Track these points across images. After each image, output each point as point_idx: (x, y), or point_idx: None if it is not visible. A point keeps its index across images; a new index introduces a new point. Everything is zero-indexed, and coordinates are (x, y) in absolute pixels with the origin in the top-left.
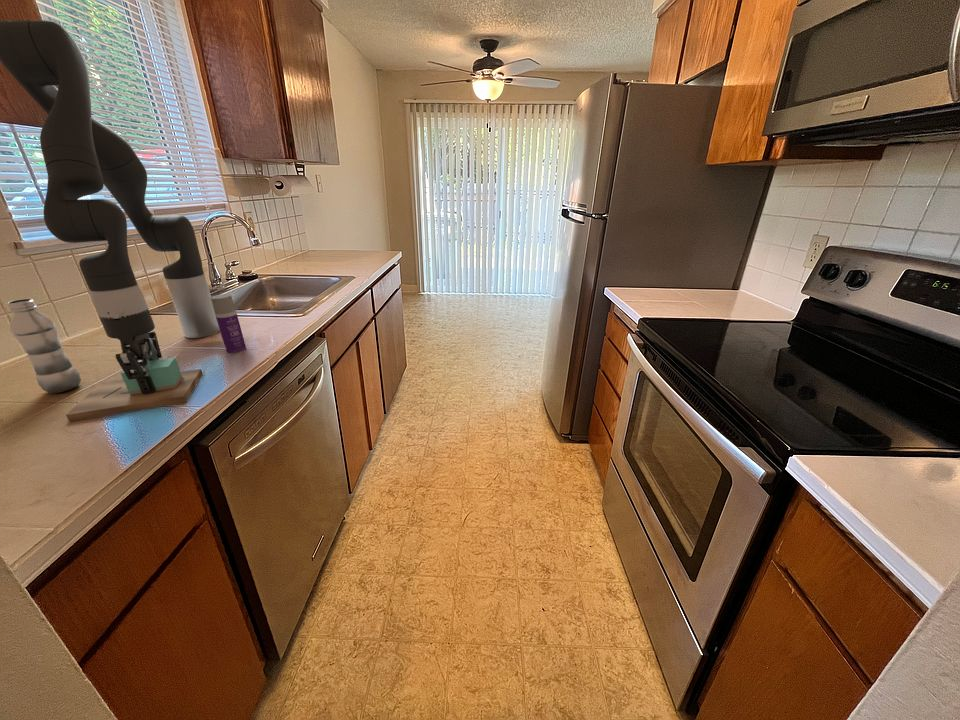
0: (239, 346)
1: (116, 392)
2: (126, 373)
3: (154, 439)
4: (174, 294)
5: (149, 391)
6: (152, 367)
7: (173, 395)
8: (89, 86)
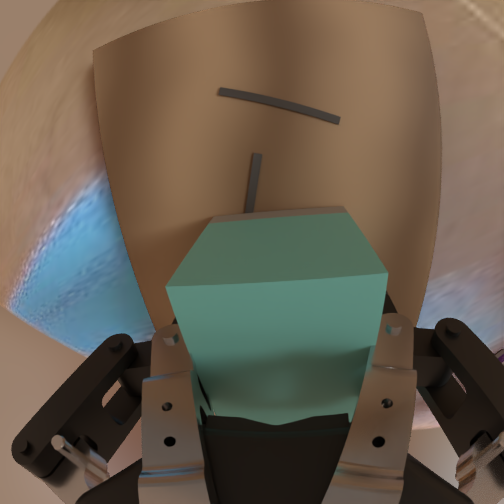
0: None
1: (275, 123)
2: (84, 369)
3: (52, 331)
4: None
5: None
6: (231, 409)
7: None
8: None
